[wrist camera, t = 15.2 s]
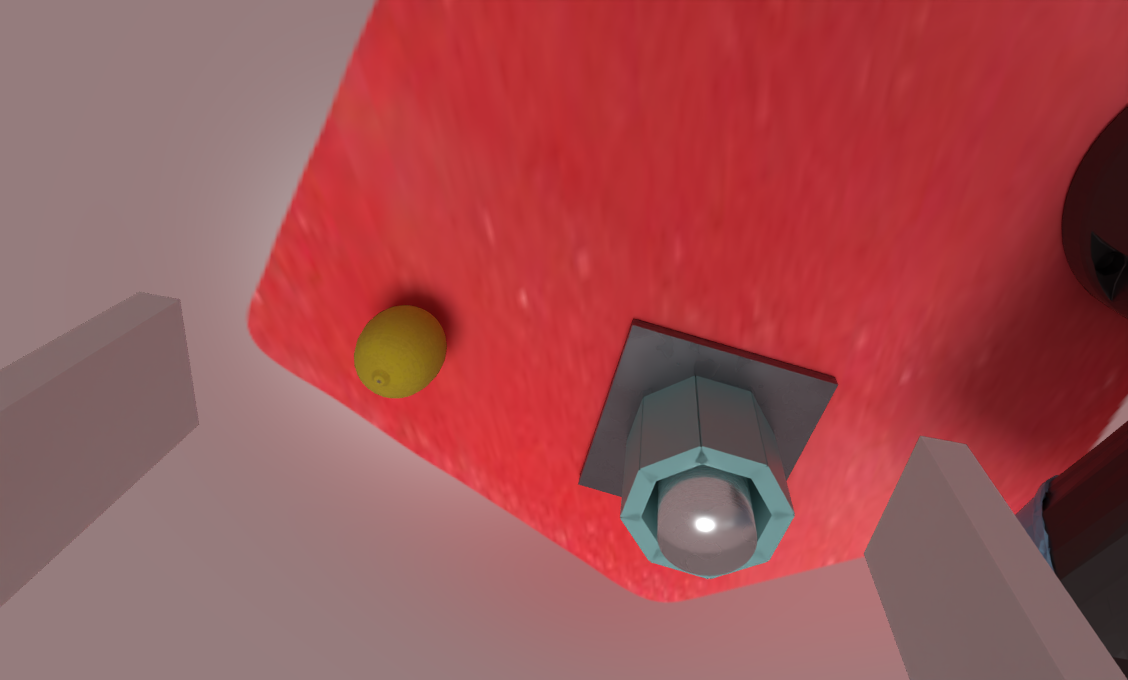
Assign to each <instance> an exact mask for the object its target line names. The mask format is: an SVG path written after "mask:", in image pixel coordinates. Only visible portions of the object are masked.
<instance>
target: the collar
mask: <svg viewBox="0 0 1128 680" xmlns="http://www.w3.org/2000/svg"><path fill="white" fill-rule="evenodd" d="M702 464H703V465H706V466H710V467H713V468H717V469H720V470H723V471H727V472H730V473H734V474H737V475H740V476H744V477H747V479H748V485H749V491H750V497H751V503H752V508H753V514H754V520H755V526H756V532H757V546H756V550H755V552H754V554H753V556H752V557H751V558H750V559H749V561H748V562H747V563H745V564H744V565H743V566H741V567H740V568H738V569H736V570H734V571H732V572H735V571H738V570H742V569H745V568H748V567H752V566H755V565H758V564H762V563H765V562H768V560H770V558H771V557H772V555H773V553H774V551H775V549H776V548H777V546H778V544H779V542H780V541H781V539H782V537H783V535H784V534H785V532H786V530H787V528H788V526H789V525H790V523H791V521H792V519H793V518H794V516H795V515H794V514H795V513H794V509H793V505H792V501H791V497H790V493H789V490H788V486H787V482H786V478H785V474H784V470H783V466H782V462H781V458H780V454H779V450H778V446H777V442H776V438H775V435H774V433H773V431H772V429H771V427H770V425H769V423H768V421H767V420H766V418H765V416H764V414H763V412H762V410H761V408H760V406H759V405H758V403H757V401H756V399H755V397H754V395H753V393H751V391H747V390H744V389H741V388H737V387H734V386H730V385H727V384H723V383H720V382H717V381H713V380H710V379H706V378H703V377H699V376H696V378H695V376H692V377H690V378H688V379H685V380H683V381H680V382H678V383H676V384H673V385H671V386H669V387H666V388H664V389H661V390H659V391H657V392H654V393H652V394H649V395H647V396H645V397H644V398H643V399H642V401H641V404H640V407H639V409H638V412H637V415H636V417H635V420H634V423H633V425H632V428H631V431H630V433H629V436H628V439H627V444H626V456H625V467H624V478H623V490H622V501H621V513H620V519H621V520H622V522H623V523H624V525H625V526H626V528H627V529H628V531H629V532H630V534H631V535H632V537H633V538H634V540H635V541H636V542H637V544H638V545H639V547H640V548H641V550H642V551H643V553H644V554H645V556H646V557H647V559H648V560H649V561H651V562H652V563H655V564H659V565H662V566H666V567H669V568H672V569H676V570H679V571H683V570H681V569H679V568H677V567H676V566H674V565H673V564H672V563H670V562H669V561H668V560H667V559H666V558H665V556H664V555H663V554H662V552H661V550H660V548H659V545H658V540H657V529H658V480H661V479H663V478H666V477H669V476H672V475H674V474H677V473H680V472H683V471H685V470H688V469H691V468H693V467H696V466H699V465H702ZM683 572H686V571H683ZM732 572H729V573H732ZM686 573H689V572H686ZM729 573H726V574H729ZM689 574H692V573H689ZM693 575H696V574H693ZM722 575H725V574H722ZM722 575H713V576H705V575H696V576H700V577H703V578H706V579H709V578H710V579H712V578H715V577H719V576H722Z"/></svg>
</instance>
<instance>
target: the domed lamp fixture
mask: <svg viewBox="0 0 1128 680" xmlns="http://www.w3.org/2000/svg"><path fill="white" fill-rule="evenodd" d="M692 376H695V378H696V376H699V377H703V378H706V379H710V380H713V381H717V382H720V383H723V384H727V385H730V386H734V387H737V388H741V389H744V390H747V391H751V393H753V395H754V397H755V399H756V401H757V403H758V405H759V406H760V408H761V410H762V412H763V414H764V416H765V418H766V420H767V421H768V423H769V425H770V427H771V429H772V431H773V433H774V435H775V438H776V442H777V446H778V450H779V454H780V458H781V462H782V466H783V470H784V474H785V478H786V481H787V479H788V477H789V475H790V473H791V471H792V470H793V468H794V466H795V464H796V462H797V460H798V458H799V457H800V455H801V453H802V451H803V449H804V447H805V445H806V444H807V442H808V440H809V438H810V436H811V434H812V432H813V431H814V429H815V427H816V425H817V423H818V421H819V419H820V418H821V416H822V414H823V412H824V410H825V408H826V406H827V404H828V403H829V401H830V399H831V397H832V395H833V393H834V391H835V390H836V388H837V386H838V383H837V381H836V379H835V377H832V376H829V375H826V374H822V373H819V372H815V371H812V370H808V369H805V368H801V367H798V366H795V365H791V364H788V363H784V362H781V361H777V360H774V359H771V358H767V357H764V356H760V355H757V354H753V353H750V352H747V351H743V350H740V349H736V348H733V347H729V346H726V345H722V344H719V343H716V342H712V341H709V340H705V339H702V338H698V337H695V336H692V335H688V334H685V333H681V332H678V331H674V330H671V329H667V328H664V327H661V326H657V325H654V324H650V323H647V322H643V321H640V320H637V319H633V321H632V324H631V327H630V330H629V333H628V336H627V339H626V342H625V345H624V348H623V351H622V353H621V356H620V359H619V362H618V365H617V368H616V371H615V374H614V377H613V380H612V383H611V386H610V389H609V392H608V395H607V397H606V400H605V403H604V406H603V409H602V412H601V415H600V418H599V421H598V424H597V427H596V430H595V433H594V436H593V439H592V441H591V444H590V447H589V450H588V453H587V456H586V459H585V462H584V465H583V468H582V471H581V474H580V477H579V483H578V484H579V485H582V486H586V487H589V488H593V489H596V490H600V491H603V492H606V493H610V494H613V495H617V496H620V497H622V490H623V478H624V467H625V456H626V444H627V439H628V436H629V433H630V431H631V428H632V425H633V423H634V420H635V417H636V415H637V412H638V409H639V407H640V404H641V401H642V399H643V398H644V397H645V396H647V395H649V394H652V393H654V392H657V391H659V390H661V389H664V388H666V387H669V386H671V385H673V384H676V383H678V382H680V381H683V380H685V379H688V378H690V377H692ZM657 540H658V545H659V548H660V550H661V552H662V554H663V555H664V556H665V558H666V559H667V560H668V561H669V562H670V563H672V564H673V565H674V566H676V567H677V568H679V569H681V570H683V571H686V572H689V573H692V574H696V575H705V576H713V575H722V574H726V573H729V572H732V571H734V570H736V569H738V568H740V567H741V566H743V565H744V564H745V563H747V562H748V561H749V559H750V558H751V557H752V556H753V554H754V552H755V550H756V546H757V532H756V526H755V520H754V514H753V508H752V503H751V497H750V491H749V485H748V479H747V477H744V476H740V475H737V474H734V473H730V472H727V471H723V470H720V469H717V468H713V467H710V466H706V465H703V464H702V465H699V466H696V467H693V468H691V469H688V470H685V471H683V472H680V473H677V474H674V475H672V476H669V477H666V478H663V479H661V480H658V529H657Z"/></svg>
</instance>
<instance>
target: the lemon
mask: <svg viewBox="0 0 1128 680" xmlns="http://www.w3.org/2000/svg"><path fill="white" fill-rule="evenodd" d="M446 349H447V344H446V337H445V333H444V331H443V328H442V326H441V325H440V323H439V322H438V320H437V319H436V318H435V317H434V316H433V315H432V314H430V313H429V312H427V311H426V310H424V309H422V308H418V307H415V306H409V305H401V306H395V307H391V308H389V309H386V310H384V311H382V312H380V313H379V314H377V315H376V316H375V317H374V318H373V319H372V320H370V321H369V322H368V323H367V325H366V326H365V328H364V329H363V331H362V333H361V334H360V336H359V338H358V341H357V344H356V348H355V353H354V363H355V368H356V371H357V374H358V376H359V378H360V380H361V381H362V383H363V384H364V385H365V386H366V387H367V388H368V389H370V390H371V391H373V392H374V393H376V394H378V395H380V396H383V397H388V398H403V397H407V396H411V395H413V394H415V393H417V392H418V391H420V390H422V389H423V388H425V387H426V386H427V385H428V384H429V383H430V382H431V381H432V380H433V379H434V378H435V377H436V376H437V374H438V373H439V371H440V369H441V367H442V365H443V363H444V360H445V355H446Z"/></svg>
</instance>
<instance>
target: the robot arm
mask: <svg viewBox="0 0 1128 680" xmlns="http://www.w3.org/2000/svg"><path fill="white" fill-rule="evenodd" d="M1062 237H1063V245H1064V250H1065V254H1066V257H1067V260H1068V263H1069V265H1070V268H1071V269H1072V271H1073V273H1074V275H1075V276H1076V278H1077V279H1078V281H1079V282H1080V283H1081V284H1082V286H1083V287H1084V288H1085V289H1086V290H1087V291H1088V292H1089V293H1090V294H1092V295H1093V296H1094V297H1095V298H1097V299H1098V300H1099V301H1101V302H1102V303H1104V304H1105V305H1107V306H1108V307H1110V308H1111V309H1113V310H1114V311H1116V312H1117V313H1119V314H1120V315H1122V316H1123V317H1125V318H1127V319H1128V107H1127V108H1126V109H1125V110H1124V111H1123V112H1122V113H1121V114H1120V115H1119V116H1117V118H1116V119H1115V120H1114V121H1113V122H1112V123H1111V124H1110V125H1109V126H1108V127H1107V128H1106V129H1105V131H1104V132H1103V133H1102V134H1101V135H1100V136H1099V138H1098V139H1097V140H1096V142H1095V143H1094V144H1093V146H1092V147H1091V149H1090V150H1089V152H1088V153H1087V155H1086V156H1085V158H1084V160H1083V161H1082V163H1081V165H1080V166H1079V168H1078V170H1077V172H1076V174H1075V177H1074V179H1073V181H1072V184H1071V186H1070V189H1069V192H1068V195H1067V199H1066V203H1065V207H1064V213H1063V222H1062ZM198 425H199V421H198V414H197V408H196V401H195V394H194V388H193V381H192V375H191V368H190V362H189V355H188V349H187V342H186V335H185V329H184V323H183V316H182V309H181V302H180V299H176V298H170V297H165V296H159V295H154V294H149V293H142V292H138V293H136V294H135V295H133V296H131V297H129V298H128V299H126V300H124V301H122V302H120V303H119V304H117V305H115V306H113V307H112V308H110V309H108V310H106V311H104V312H103V313H101V314H99V315H97V316H96V317H94V318H92V319H90V320H88V321H86V322H85V323H83V324H81V325H79V326H78V327H76V328H74V329H72V330H70V331H69V332H67V333H65V334H63V335H62V336H60V337H58V338H56V339H55V340H53V341H51V342H49V343H47V344H46V345H44V346H42V347H40V348H39V349H37V350H35V351H33V352H31V353H29V354H28V355H26V356H24V357H22V358H20V359H19V360H17V361H15V362H13V363H12V364H10V365H8V366H6V367H5V368H3V369H1V370H0V607H1V606H2V605H3V604H4V603H5V602H7V601H8V600H9V599H10V598H11V597H12V596H13V595H14V594H15V593H16V592H17V591H19V590H20V589H21V588H22V587H23V586H24V585H25V584H26V583H27V582H28V581H29V580H30V579H32V578H33V577H34V576H35V575H36V574H37V573H38V572H39V571H40V570H41V569H42V568H44V567H45V566H46V565H47V564H48V563H49V562H50V561H51V560H52V559H53V558H54V557H55V556H57V555H58V554H59V553H60V552H61V551H62V550H63V549H64V548H65V547H66V546H67V545H69V544H70V543H71V542H72V541H73V540H74V539H75V538H76V537H77V536H78V535H79V534H80V533H82V532H83V531H84V530H85V529H86V528H87V527H88V526H89V525H90V524H91V523H92V522H94V521H95V520H96V519H97V518H98V517H99V516H100V515H101V514H102V513H103V512H104V511H106V509H108V508H109V507H110V506H111V505H112V504H113V503H114V502H115V501H116V500H117V499H119V498H120V497H121V496H122V495H123V494H124V493H125V492H126V491H127V490H128V489H129V488H131V487H132V486H133V485H134V484H135V483H136V482H137V481H138V480H139V479H140V478H141V477H142V476H144V475H145V474H146V473H147V472H148V471H149V470H150V469H151V468H152V467H153V466H154V465H156V464H157V463H158V462H159V461H160V460H161V459H162V458H163V457H164V456H165V455H166V454H167V453H169V451H171V450H172V449H173V448H174V447H175V446H176V445H177V444H178V443H179V442H180V441H182V440H183V439H184V438H185V437H186V436H187V435H188V434H189V433H190V432H191V431H192V430H193V429H194V428H196V427H197V426H198ZM864 556H865V558H866V561H867V564H868V567H869V569H870V572H871V575H872V578H873V580H874V583H875V586H876V589H877V591H878V594H879V597H880V600H881V602H882V605H883V608H884V610H885V613H886V616H887V619H888V621H889V624H890V627H891V630H892V632H893V635H894V637H895V641H896V643H897V646H898V649H899V651H900V654H901V657H902V660H903V662H904V665H905V668H906V671H907V673H908V676H909V679H910V680H1128V421H1127V422H1126V423H1124V424H1123V425H1122V426H1121V427H1120V428H1118V429H1117V430H1116V431H1115V432H1113V433H1112V434H1111V435H1110V436H1109V437H1107V438H1106V439H1105V440H1104V441H1102V442H1101V443H1100V444H1099V445H1097V446H1096V447H1095V448H1094V449H1092V450H1091V451H1090V452H1089V453H1087V454H1086V455H1085V456H1083V457H1082V458H1081V459H1080V460H1078V461H1077V462H1076V463H1074V464H1073V465H1072V466H1071V467H1069V468H1068V469H1067V470H1065V471H1064V472H1063V473H1062V474H1060V475H1055V476H1053V477H1051V478H1050V479H1048V480H1047V481H1046V482H1044V483H1042V485H1041V486H1040V488H1039V489H1038V491H1037V493H1036V495H1035V497H1034V498H1033V499H1032V500H1030V501H1029V502H1028V503H1027V504H1026V505H1025V506H1024V507H1023V508H1022V509H1021V510H1020V511H1019V512H1018V513H1017V514H1015V515H1014V513H1013V512H1012V510H1011V509H1010V507H1009V506H1008V504H1007V503H1006V502H1005V500H1004V499H1003V497H1002V496H1001V494H1000V493H999V491H998V490H997V488H996V487H995V485H994V484H993V483H992V481H991V480H990V478H989V477H988V475H987V474H986V472H985V471H984V469H983V468H982V467H981V465H980V464H979V462H978V461H977V459H976V458H975V456H974V455H973V453H972V452H971V450H970V449H969V448H968V446H967V445H966V444H962V443H957V442H952V441H946V440H941V439H935V438H930V437H925V436H920V437H919V439H918V441H917V443H916V446H915V448H914V450H913V452H912V454H911V456H910V458H909V460H908V462H907V464H906V466H905V469H904V471H903V473H902V475H901V477H900V479H899V481H898V483H897V485H896V487H895V489H894V492H893V494H892V496H891V498H890V500H889V502H888V504H887V506H886V508H885V510H884V512H883V514H882V517H881V519H880V521H879V523H878V525H877V527H876V529H875V531H874V533H873V535H872V537H871V540H870V542H869V544H868V546H867V548H866V550H865V552H864Z"/></svg>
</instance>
